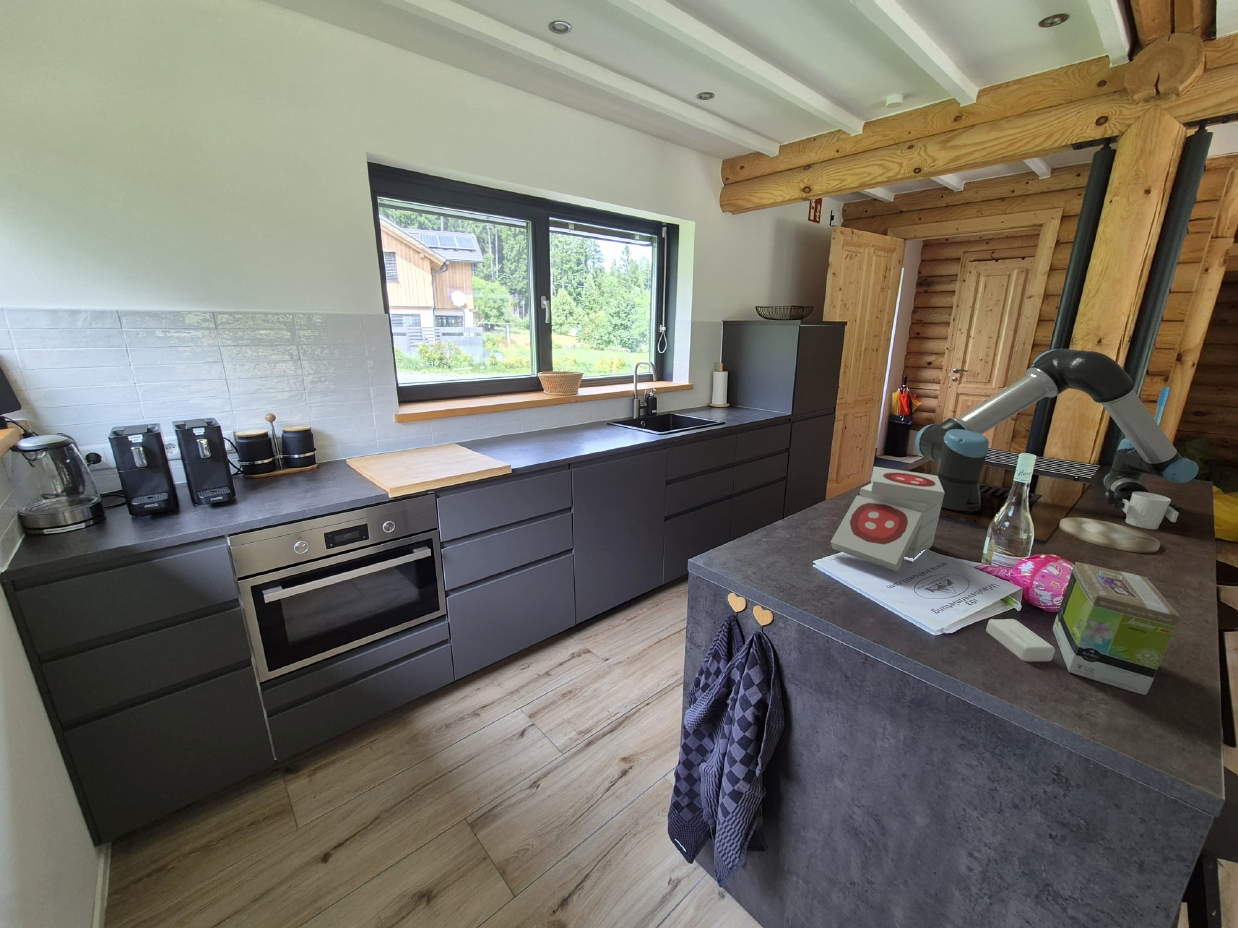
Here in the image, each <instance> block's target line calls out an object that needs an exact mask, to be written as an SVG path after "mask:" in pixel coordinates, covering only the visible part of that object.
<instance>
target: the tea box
mask: <svg viewBox="0 0 1238 928" xmlns="http://www.w3.org/2000/svg"><path fill="white" fill-rule="evenodd" d="M1070 573H1071V574H1070V576H1069V579H1068V583H1067V585H1066V588H1065V591H1064V595H1063V597H1062V599H1061V603H1060V605H1059V609H1058V612H1057V614H1056V617H1055V619H1054V623H1053V627H1052V632H1053V633H1054V637H1055V638H1056V642H1057V644H1058V647H1059V649H1060V652H1061V655H1062V658H1063V660H1064V663H1065V666H1066V668H1067V671H1068V672H1069V673H1071V674H1074V675H1077V676H1080V677H1083V678H1086V679H1089V680H1093V681H1095V682H1099V683H1103V684H1106V685H1108V686H1112V687H1115V688H1119V689H1123V690H1126V691H1128V692H1132V693H1136V694H1140V695H1142V696H1143V695H1144V696H1146V695H1147V694H1148V692H1149V691H1150V688H1151V686H1152V684H1153V682H1154V679H1155V676H1156V674H1157V671H1158V670H1159V667H1160V665H1161V663H1162V659H1163V657H1164V655H1165V653H1166V651H1167V649H1168V646H1169V645H1170V644H1169V643H1170V642H1171V639H1172V637H1173V634H1174V632H1175V630H1176V628H1177V624H1178V622H1179V619H1180V618H1181V617H1180V614H1179V613H1178V612H1177V611H1176V609H1175V608H1174V607H1173V606H1172V605H1171V603H1170V602H1169V601H1168V600H1167V599H1166V597H1164V596H1163V594H1162V593H1161V592H1160V590H1158V589H1157V587H1156V586H1155V584H1153V583H1152V581H1150V579H1149V578H1148V577H1147V576H1143V575H1138V574H1133V573H1129V572H1125V571H1120V570H1116V569H1115V570H1114V569H1110V568H1107V567H1102V566H1097V565H1093V564H1088V563H1083V562H1078V561H1075V563H1074V565H1073V567H1072V571H1071V572H1070Z"/></svg>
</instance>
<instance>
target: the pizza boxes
mask: <svg viewBox="0 0 1238 928" xmlns="http://www.w3.org/2000/svg"><path fill="white" fill-rule="evenodd" d="M870 478H871V479H870V480H871V481H870V483H869V484H867V485H865V486H862V487H860V490H859V495H856V496H855V498H854V499H853V502H852V503H851V505H850V507H849V508H848V510H847V512H846V514H845V515H844V517H843V519H842V521H841V523H840V524H839V525H838V528H837V530H836V531H835V533H834V535H833V536H832V539H831V540H830V544H831V545H830V546H831V548H832V549H833V550H836V551H839V552H842V553H844V554H847V555H850V556H852V557H855V558H858V559H861V560H863V561H866V562H870V563H872V564H875V565H878V566H880V567H883V568H886V569H889V570H892V571H894V572H898V571H899V569H900V567H901V565H902V563H903V561H904V560H903V559H904V557H908V558H913V559H914V558H915V557H916V556H917V555H918V554H919V553H921V551H923V550H926V549H928V550H930V548H931V547H932V546H933V544H934V539H935V534H936V530H937V525H938V523H939V519H940V515H941V509H942V508H941V506H942V502H943V497H944V493H945V492H944V490H943V488H942V485H941V483H940V481H939V478H938V476H936V475H933V474H929V473H921V472H915V471H906V470H901V469H893V468H885V467H879V466H873V469H872V473H871V477H870Z"/></svg>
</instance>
